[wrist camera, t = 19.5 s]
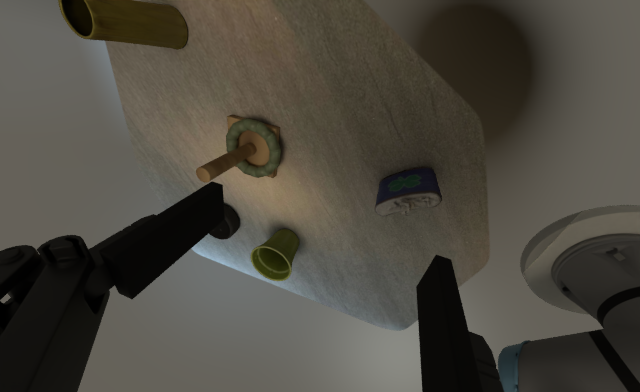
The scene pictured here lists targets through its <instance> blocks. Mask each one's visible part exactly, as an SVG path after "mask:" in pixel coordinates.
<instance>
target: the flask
mask: <svg viewBox="0 0 640 392" xmlns="http://www.w3.org/2000/svg"><path fill="white" fill-rule="evenodd" d="M441 197H442V195H441V193H440V189H439V186H438V182H437V178H436V174H435V172H434V170H433V169H432V168H431V167H419V168H413V169H412V168H411V169H408V170H404V171H402V172H399V173H396V174H394V175H391V176H388V177H386V178H384V179H383V180H382V181H381V182H380V184H379V190H378V194H377V201H376V205H375V212H376V213H377V214H378V215H380V216H387V215H390V214H393V213H395V212H400V211H402V212H401V214H402V215H406V216H407V215H408V214H406V211H409V210H410V209H414V208H431V207H435V206H437V205H438V204H439V203H440V202H441V201H442V198H441Z"/></svg>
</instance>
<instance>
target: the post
mask: <svg viewBox="0 0 640 392" xmlns="http://www.w3.org/2000/svg"><path fill="white" fill-rule="evenodd" d="M227 117H228V131H229V129H230V127H231V126H232V124H233V123H235V122H237V121H240V120H242V119H245V118H242V117H239V116H235V115H230V116H227ZM264 124H265V123H264ZM265 125H266V126H267V127H268V128H269V129H270V130H271V131H272V132H273V133H274V134H275V136H276V138H277V141H278V143H279V132H280V127H276V126H273V125H269V124H265ZM237 140H238V148H236V149H234V150H232V151H230V152H228V153H226V154H225V155H223V156H221V157H219V158H217V159H215V160H213V161H211V162H209V163H207V164H205V165H203V166H201V167H199V168H197V170H196V174H197V177H198V178H199V179H200V180H201V181H203V182H209V181H211V180H212V179H214V178H216V177H217V176H219V175H220V174H222V173H224V172H225V171H227V170H229V169H230V168H232V167H234V166H235V167H237V166H236V165H237V164H239V163H240V162H242V161H244V160H245V161H246V162H247V163H249V164H250V165H253V166H256V167H261V166H264V165H265V164H266V163H267V162H268V160H269V148H268V146H267V144H266V141H265V140H264V139H263V138H262V137H261V136H260V135H259V134H258V133H256V132H253V131H249V130H247V131H244V132H242V133H241V134H240V136H239V137H238V139H237ZM276 173H277V168H276V169H275V170H274V172H273V173H272V174H271V175H268V177H271V178H274V177H275V176H276Z"/></svg>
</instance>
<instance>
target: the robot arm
mask: <svg viewBox="0 0 640 392" xmlns="http://www.w3.org/2000/svg"><path fill="white" fill-rule="evenodd" d="M224 219H225V214H224V200H223V185H221V184H218V183H215V182H210V183H209V184H207V185H205V186H204V187H202V188H201V189H199V190H197V191H196V192H194V193H192V194H191V195H189V196H187V197H186V198H184V199H183V200H181V201H179V202H178V203H176V204H174V205H173V206H171V207H170V208H168V209H166V210H165V211H163V212H161V213H160V214H158V215H154V214H153V215H150V216H147V217H144V218H141V219H140V220H138V221H136V222H134V223H133V224H131V226H128V227H126V228H124V229H123V230H122V231H119V232H118V233H116V234H114V235H112V236H111V237H109V238H107V239H106V240H104V241H102V242H101V243H99V244H97V245H95V246H94V247H92V248H90V249H88V248H87V246H86V244H85V242H84V240H83V239H82V238H81V237H80V236H76V235H67V236H61V237H58V238H55V239H52V240H49V241H48V242H46V243H44V244H42V245H41V246H40V247H39V248H38V249H37V251H38V252H39V253H40V255H39V254H38V252H37V251H36V249H35V248H33V247H32V246H28V245H22V246H15V247H11V248H7V249H5V250H2V251H0V300H1V299H2V298H3V297H4V296H5V295H6V294H7V293H8V295H9V296H10V297H11V298H10V299H9V300H8V301H6V302H5V303H4V304H3V303H1V301H0V392H77V391H78V388H79V385H80V382H81V379H82V376H83V373H84V370H85V367H86V364H87V361H88V358H89V355H90V352H91V349H92V346H93V343H94V340H95V337H96V334H97V331H98V329H99V326H100V323H101V319H102V317H103V314H104V311H105V308H106V305H107V302H108V299H109V295H110V291H109V289H110V288H112V287H113V286H114V285H115V286H116V288H117V290H118V292H119V293H120V294H122V295H124V296H126V297H129V298H130V299H133V298H134V297H135V296H137V294H139V293H140V292H141V291H142V290H144V289H145V288H146V287H147V286H148V285H149V284H150V283H152V282H153V281H154V280H155V279H156V278H157V277H159V276H160V275H161V274H162V273H163V272H164V271H165V270H167V269H168V268H169V267H170V266H171V265H172V264H174V263H175V262H176V261H177V260H178V259H179V258H180V257H182V256H183V255H184V254H185V253H186V252H187V251H188V250H189V249H191V248H192V247H193V246H194V245H195V244H197V243H198V242H199V241H200V240H201V239H202V238H204V237H205V236H206V235H207V234H208V233H209V232H210V231H212V230H213V229H214V228H215V227H216V226H217V225H219V224H220V223H221V222H222V221H223V220H224ZM551 275H552V279H553V281H554V283H555V284H556V285H557V287H558V288H559V290H560V291H561V293H562V294H563V295H564V296H566V297H567V298H568V299H570V300H571V301H572V302H574V303H575V304H576V305H578V306H579V307H580V308H582V309H583V310H584V311H586V312H587V313H588V314H590V315H591V316H593V317H594V318H595V319H597V320H598V322H599V323H600V324H601V326H602V327H603V328H604V329H601V330H595V331H590V332H583V333H577V334H571V335H565V336H559V337H553V338H547V339H541V340H535V341H524V342H522V343H521V344H516V345H512V346H508V347H505V348H504V349H503V350H502V351H501V353H500V354H499V359H498V370H497V369H496V363H495V360H494V357H493V354H492V351H491V349H490V348H489V346H488V344H487V343H486V341H485V340H484V338H483V337H482V336H480V335H477V334H475V333H472V332H469V331H468V327H467V323H466V319H465V315H464V311H463V307H462V303H461V299H460V294H459V290H458V286H457V282H456V278H455V274H454V270H453V266H452V262H451V259H448V258H445V257H442V256H439V255H436V256H435V257H434V259H433V261H432V262H431V264H430V266H429V267H428V269H427V271H426V272H425V274H424V275H423V277H422V279H421V280H420V282H419V284H418V285H417V287H416V288H417V305H418V322H419V337H420V338H419V339H420V355H421V356H420V357H421V374H422V391H423V392H640V234H630V233H619V234H608V235H602V236H597V237H593V238H590V239H587V240H584V241H581V242H579V243H577V244H575V245H573V246H571V247H569V248H568V249H566V250H565V251H564V252H562V253H561V254H560V255H559V256H558V257H557V258H556V260H555V261H554V263H553V266H552V269H551ZM498 371H499V373H498Z"/></svg>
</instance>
